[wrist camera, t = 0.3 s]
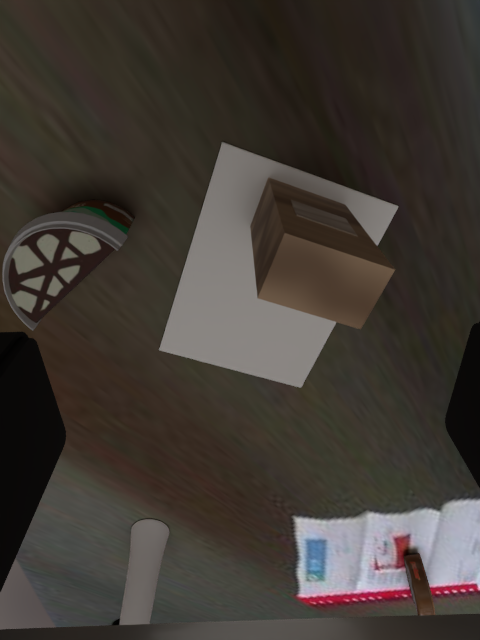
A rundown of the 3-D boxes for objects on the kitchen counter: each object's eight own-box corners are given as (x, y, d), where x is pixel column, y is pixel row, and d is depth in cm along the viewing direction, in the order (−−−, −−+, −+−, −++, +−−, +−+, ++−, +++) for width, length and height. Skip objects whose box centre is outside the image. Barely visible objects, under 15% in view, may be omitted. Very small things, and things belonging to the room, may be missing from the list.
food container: (95, 157, 40) (57, 185, 31) (145, 207, 42) (122, 245, 34) (17, 242, 44) (-36, 287, 35) (66, 282, 46) (29, 334, 38)
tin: (424, 588, 80) (443, 640, 72) (406, 590, 80) (424, 643, 73) (416, 542, 72) (437, 596, 65) (397, 545, 73) (415, 599, 65)
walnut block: (268, 176, 40) (285, 231, 28) (345, 203, 42) (395, 268, 29) (250, 226, 43) (257, 298, 30) (323, 250, 44) (360, 329, 31)
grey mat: (222, 141, 39) (222, 142, 39) (397, 205, 42) (398, 206, 42) (159, 348, 51) (159, 350, 50) (300, 385, 54) (300, 387, 54)
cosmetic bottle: (135, 542, 71) (100, 717, 52) (128, 519, 68) (87, 697, 49) (172, 540, 71) (150, 715, 52) (166, 517, 67) (140, 694, 49)
